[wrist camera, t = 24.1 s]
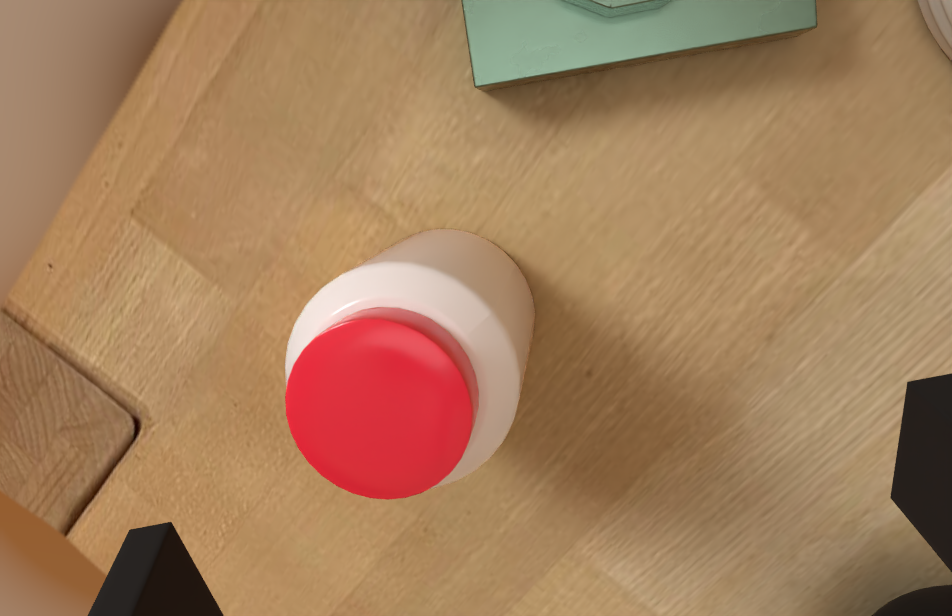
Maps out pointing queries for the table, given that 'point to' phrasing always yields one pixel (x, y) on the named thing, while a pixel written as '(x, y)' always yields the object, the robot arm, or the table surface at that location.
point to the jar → (939, 22)
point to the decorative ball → (920, 603)
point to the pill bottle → (410, 365)
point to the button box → (614, 33)
